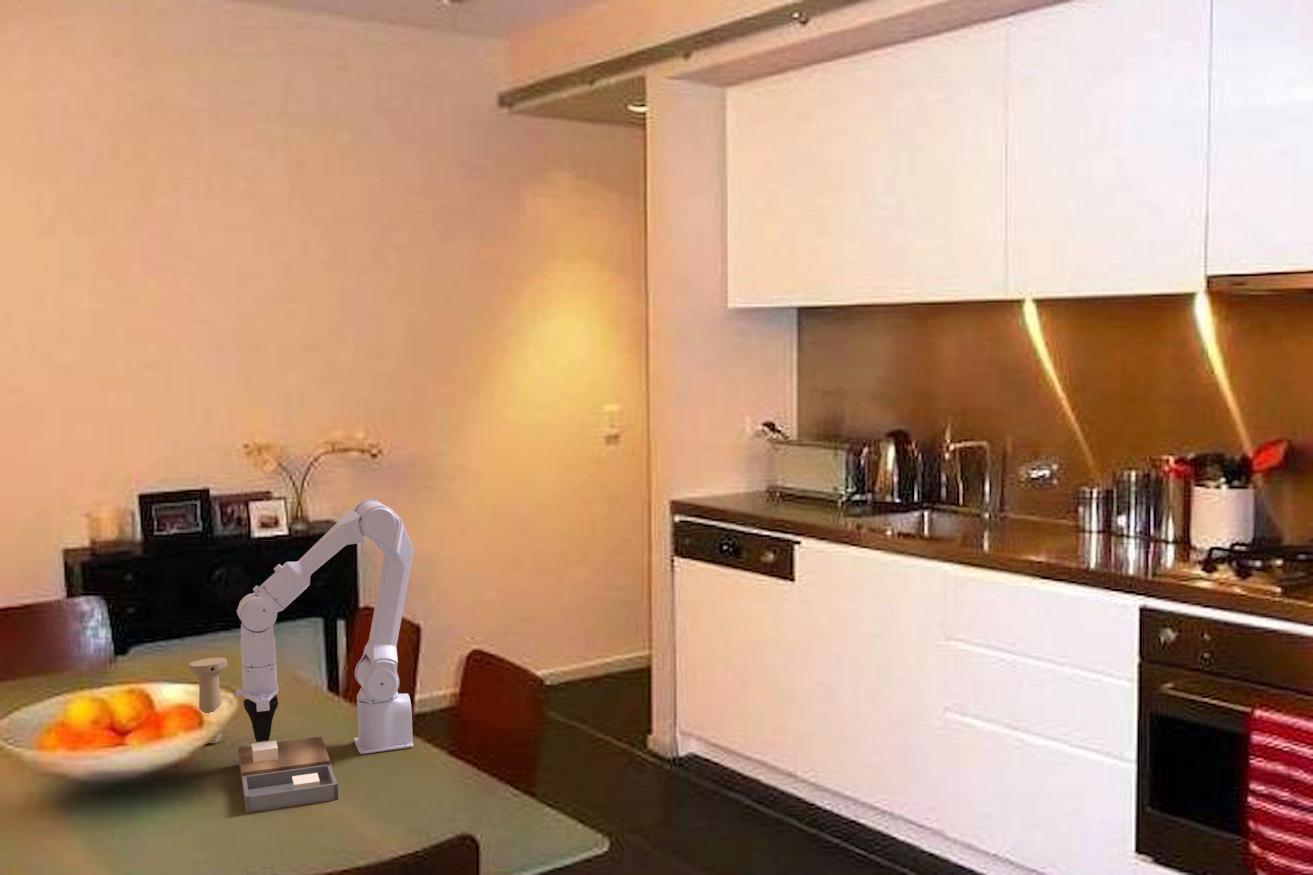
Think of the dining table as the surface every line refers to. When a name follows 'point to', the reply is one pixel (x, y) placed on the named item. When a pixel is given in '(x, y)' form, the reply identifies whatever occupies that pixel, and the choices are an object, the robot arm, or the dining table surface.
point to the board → (286, 757)
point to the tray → (287, 789)
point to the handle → (209, 684)
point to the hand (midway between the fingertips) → (262, 740)
